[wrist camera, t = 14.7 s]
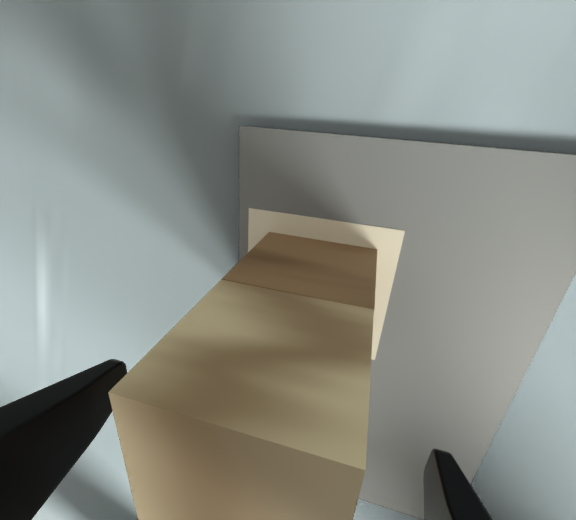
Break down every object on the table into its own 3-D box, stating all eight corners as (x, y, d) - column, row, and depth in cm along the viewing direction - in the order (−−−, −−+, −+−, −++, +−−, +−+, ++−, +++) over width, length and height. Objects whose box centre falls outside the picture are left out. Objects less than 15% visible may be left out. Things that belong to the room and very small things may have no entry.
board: (620, 158, 11) (632, 160, 11) (446, 517, 20) (448, 528, 20) (244, 125, 14) (239, 126, 14) (241, 452, 23) (238, 460, 23)
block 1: (358, 340, 16) (349, 423, 12) (265, 319, 17) (223, 388, 13) (377, 249, 14) (374, 309, 10) (269, 231, 15) (221, 278, 11)
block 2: (373, 309, 10) (365, 470, 5) (349, 424, 12) (329, 607, 7) (221, 279, 11) (107, 392, 6) (224, 389, 13) (140, 532, 8)
